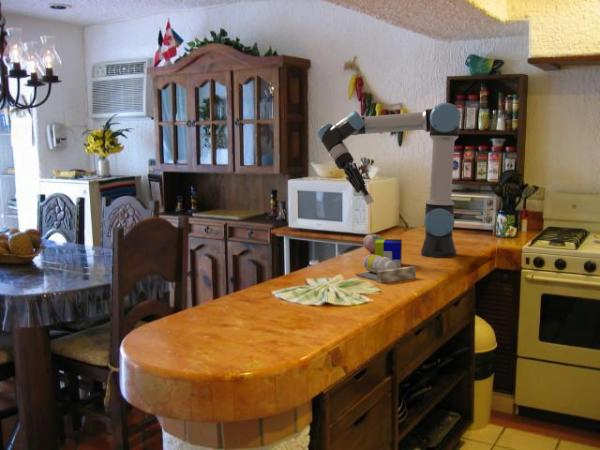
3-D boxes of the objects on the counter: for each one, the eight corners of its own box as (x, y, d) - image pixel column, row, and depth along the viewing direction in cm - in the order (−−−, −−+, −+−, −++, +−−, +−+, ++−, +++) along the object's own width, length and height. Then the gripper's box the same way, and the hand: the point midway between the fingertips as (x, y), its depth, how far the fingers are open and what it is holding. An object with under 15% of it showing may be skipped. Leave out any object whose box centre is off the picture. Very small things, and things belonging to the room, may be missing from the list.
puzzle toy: (400, 268, 243) (400, 243, 242) (374, 267, 245) (375, 242, 244) (401, 263, 253) (401, 239, 252) (376, 263, 255) (377, 239, 254)
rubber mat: (385, 271, 237) (385, 269, 236) (409, 277, 225) (409, 275, 225) (355, 275, 229) (355, 273, 229) (379, 281, 217) (379, 280, 217)
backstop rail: (411, 277, 225) (411, 266, 225) (415, 278, 223) (415, 267, 223) (376, 282, 217) (377, 271, 216) (380, 283, 215) (380, 272, 215)
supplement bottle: (379, 263, 236) (401, 269, 225) (367, 274, 234) (389, 280, 223) (372, 250, 234) (394, 255, 223) (360, 260, 231) (381, 266, 220)
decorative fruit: (386, 254, 274) (386, 232, 273) (370, 256, 271) (370, 233, 270) (376, 251, 283) (376, 229, 282) (360, 252, 280) (360, 231, 279)
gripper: (332, 167, 265) (360, 212, 259) (335, 153, 253) (365, 200, 246) (347, 160, 267) (375, 205, 260) (351, 145, 255) (381, 192, 248)
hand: (370, 202), depth 253 cm, fingers closed
